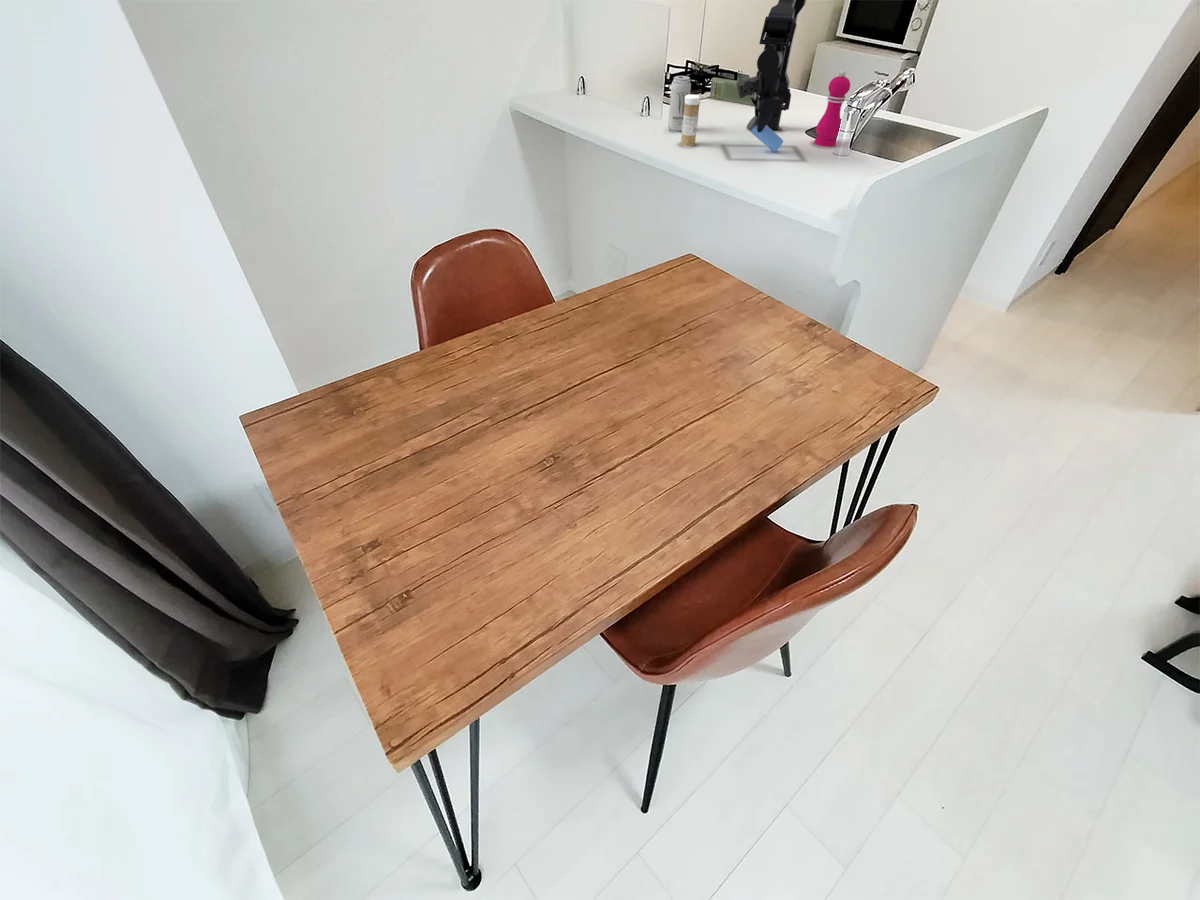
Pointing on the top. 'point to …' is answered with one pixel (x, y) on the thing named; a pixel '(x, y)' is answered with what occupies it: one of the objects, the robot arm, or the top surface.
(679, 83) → the energy drink can
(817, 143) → the pepper mill
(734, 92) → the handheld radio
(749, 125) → the tube
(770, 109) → the robot arm
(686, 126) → the sprinkles bottle
